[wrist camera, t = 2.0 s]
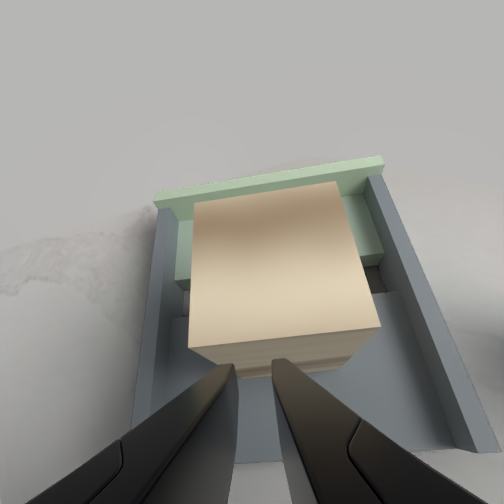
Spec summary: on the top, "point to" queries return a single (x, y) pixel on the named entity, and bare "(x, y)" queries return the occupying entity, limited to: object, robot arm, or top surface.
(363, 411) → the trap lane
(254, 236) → the beech block
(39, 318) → the top surface
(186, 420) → the robot arm
